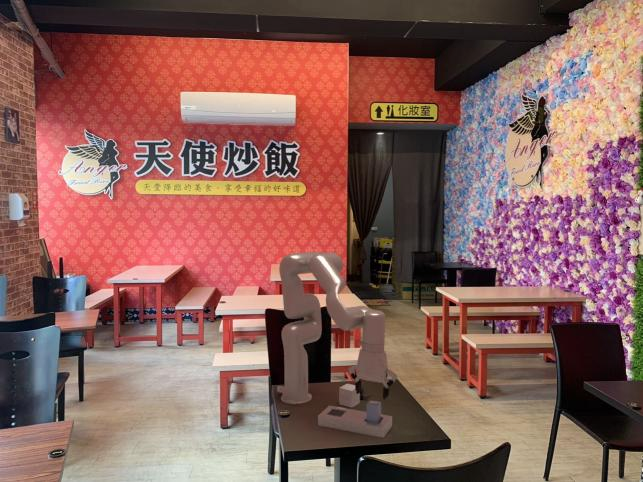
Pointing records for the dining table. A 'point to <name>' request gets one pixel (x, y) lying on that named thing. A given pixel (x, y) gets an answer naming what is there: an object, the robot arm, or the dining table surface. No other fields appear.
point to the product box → (348, 396)
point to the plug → (373, 412)
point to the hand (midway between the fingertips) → (371, 395)
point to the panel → (353, 421)
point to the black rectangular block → (362, 396)
